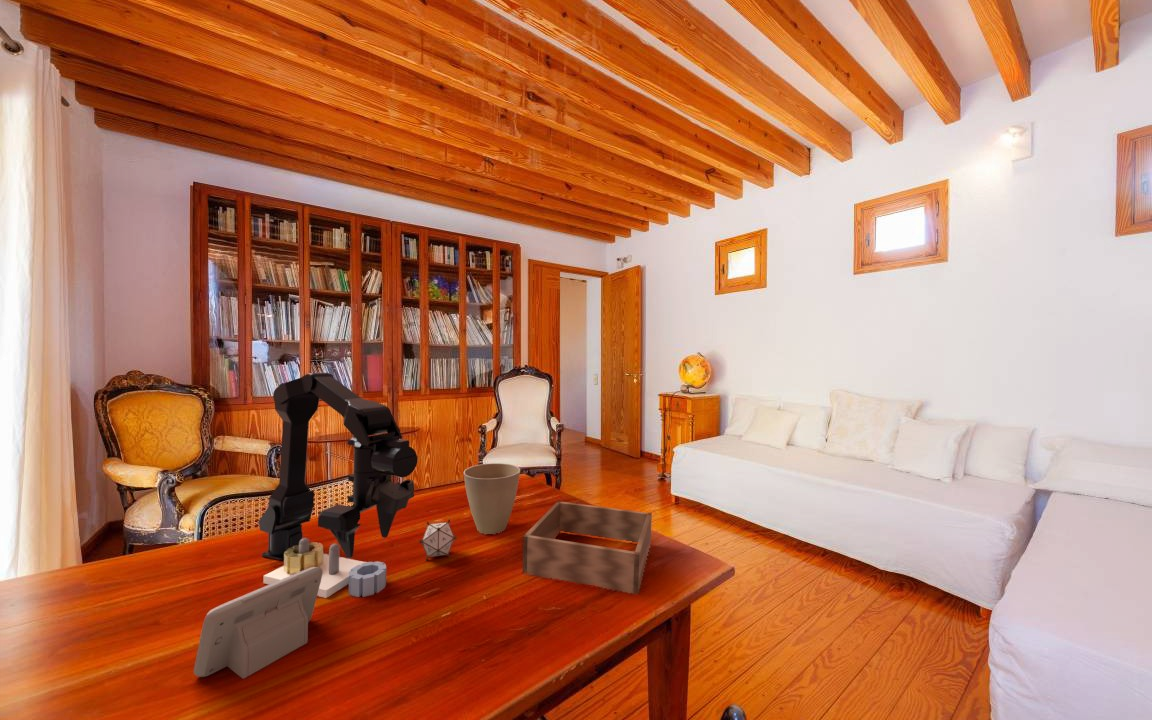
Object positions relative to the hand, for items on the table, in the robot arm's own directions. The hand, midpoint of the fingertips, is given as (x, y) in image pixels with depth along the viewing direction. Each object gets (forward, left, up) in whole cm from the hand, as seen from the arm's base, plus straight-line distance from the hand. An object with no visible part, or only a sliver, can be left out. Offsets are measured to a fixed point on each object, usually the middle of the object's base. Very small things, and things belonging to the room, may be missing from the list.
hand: (368, 546), depth 83 cm
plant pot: (+10, +33, -8) cm, 35 cm away
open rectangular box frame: (+40, +27, -10) cm, 49 cm away
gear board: (-12, 0, -8) cm, 15 cm away
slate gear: (0, 0, -8) cm, 8 cm away
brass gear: (-16, 0, -7) cm, 18 cm away
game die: (+6, +15, -8) cm, 18 cm away
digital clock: (-2, -19, -8) cm, 21 cm away
